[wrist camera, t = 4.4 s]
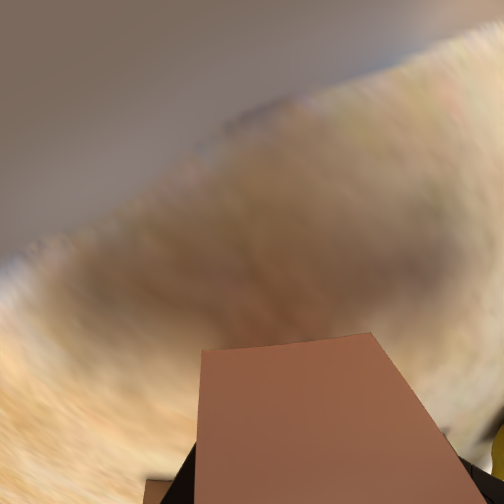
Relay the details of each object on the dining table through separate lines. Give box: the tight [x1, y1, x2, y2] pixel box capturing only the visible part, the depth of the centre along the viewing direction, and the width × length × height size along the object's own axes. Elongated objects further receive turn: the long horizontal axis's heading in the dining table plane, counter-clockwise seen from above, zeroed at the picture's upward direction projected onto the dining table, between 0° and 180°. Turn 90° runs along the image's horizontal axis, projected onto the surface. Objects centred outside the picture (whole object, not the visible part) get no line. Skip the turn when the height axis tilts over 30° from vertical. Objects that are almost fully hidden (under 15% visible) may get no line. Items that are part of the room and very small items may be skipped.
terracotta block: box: [194, 332, 487, 504], centre depth 6 cm, size 5×5×7 cm
